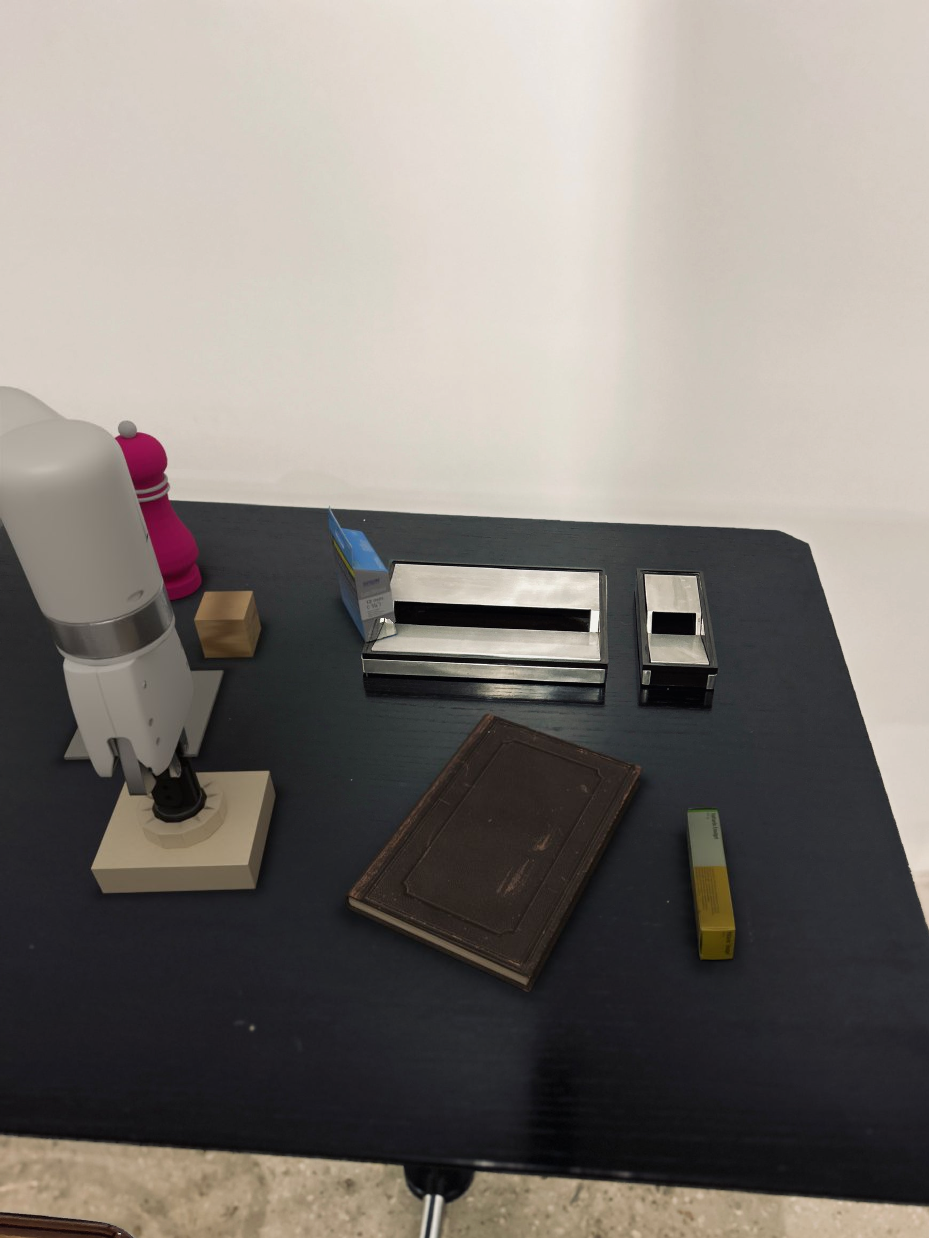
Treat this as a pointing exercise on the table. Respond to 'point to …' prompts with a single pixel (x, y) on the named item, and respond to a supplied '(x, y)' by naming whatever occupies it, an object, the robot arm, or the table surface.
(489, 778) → the hardcover book
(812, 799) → the table surface
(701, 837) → the medication box
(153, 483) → the pepper mill
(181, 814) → the button
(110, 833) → the dial knob box
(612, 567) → the table surface
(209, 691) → the pad
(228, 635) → the block
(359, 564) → the label tape box
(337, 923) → the table surface
